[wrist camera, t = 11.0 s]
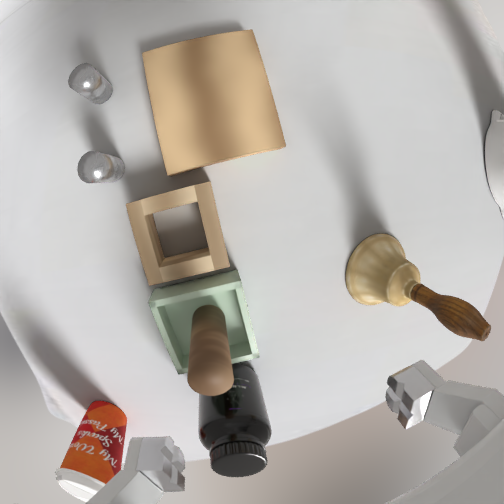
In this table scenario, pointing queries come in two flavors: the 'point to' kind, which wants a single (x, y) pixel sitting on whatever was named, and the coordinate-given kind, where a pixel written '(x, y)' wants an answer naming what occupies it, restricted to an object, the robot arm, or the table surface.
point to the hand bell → (406, 286)
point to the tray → (192, 297)
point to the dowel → (209, 353)
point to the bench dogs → (98, 91)
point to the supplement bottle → (236, 426)
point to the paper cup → (94, 451)
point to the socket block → (184, 263)
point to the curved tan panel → (211, 101)
